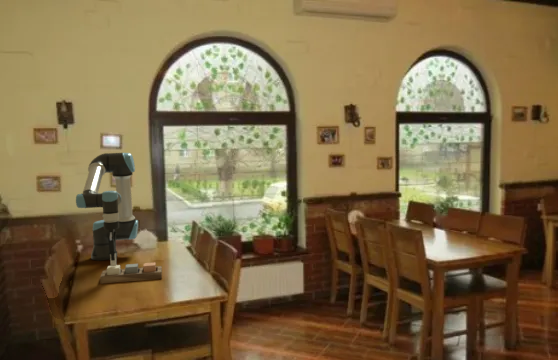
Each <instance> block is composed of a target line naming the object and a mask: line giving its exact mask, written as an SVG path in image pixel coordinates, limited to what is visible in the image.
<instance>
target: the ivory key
mask: <svg viewBox="0 0 558 360" xmlns="http://www.w3.org/2000/svg"><path fill="white" fill-rule="evenodd" d="M121 269H122V268H121V265H120V264H116V266H111V265H107V268H106V270H107V275H116V274H121Z"/></svg>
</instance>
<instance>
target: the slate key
mask: <svg viewBox="0 0 558 360" xmlns="http://www.w3.org/2000/svg"><path fill="white" fill-rule="evenodd" d="M138 268H139V263H130V264H129V263H128V264H125V268H124V269H125V272H126V274H129V273H138Z"/></svg>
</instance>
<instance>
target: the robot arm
mask: <svg viewBox="0 0 558 360" xmlns="http://www.w3.org/2000/svg"><path fill="white" fill-rule="evenodd" d="M87 171H88V175H87V178H86V180H85V185H84V188H83V191H82V193H79V194H77V195H76V197H75V204H76V207H77V208H78V209H91V208H92V209H95V208H102V215H101V217H102V218H103V219H101V220H97V221H94V222H93V223H92V240H93V241H92V242H93V243H92V244H93V247H92V250H91V254H90V256H91V257H90V259H91V260H93V261H108V260H110V266H116V265H117V257H118V251H117V241H123V240H124V241H125V240H128V241H129V240H135V239H136V238H137V236H138V230H139V220H138V219H136V217H135V215H133V201H132V198H133V197H132V185H131V183H132V182H131V177H132V176H133V173H134V172H135V171H136V167H135V160H134V156H133V154H132V153H130V152H104V153H101V154H99V155H97V156H95V157H94V158H93V159H92V160H91V161H90V163H89V165H88V168H87ZM106 173H107V174H108V173H110V174H112V177H113V178H114V179H115V190H105V191H103V192H101V193H100V192H99V190H100V186H101V183H102V178H103V176H105V174H106Z"/></svg>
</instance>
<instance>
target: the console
mask: <svg viewBox="0 0 558 360" xmlns="http://www.w3.org/2000/svg"><path fill="white" fill-rule="evenodd" d="M120 269H121V274H116V275H107V269H105V270H102V272H101V274H100V276H99V279H100V281H99V282H100V284H101V285H102V284H111V283H112V284H113V283H123V282H139V281H148V280H159V279H161V280H162V278H163V277H162V276H163V269H162V265H156V271H154V272H144V268H143V267H138V273H129V274H126V272H125V268H120Z"/></svg>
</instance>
